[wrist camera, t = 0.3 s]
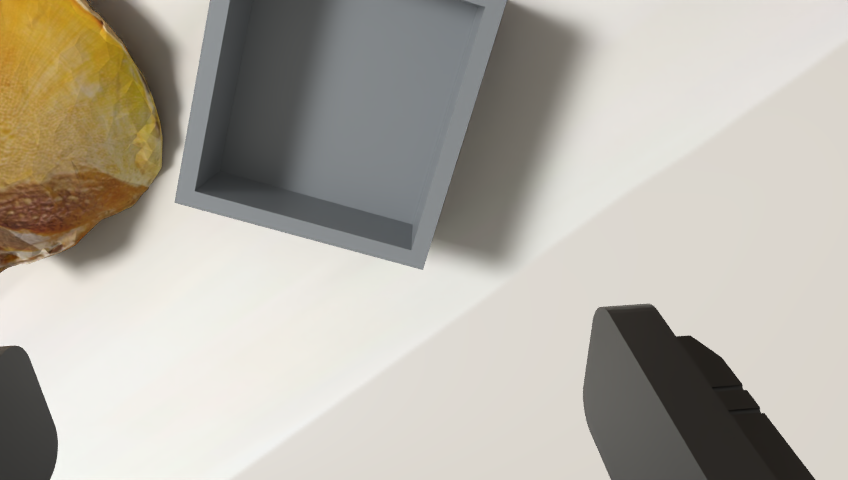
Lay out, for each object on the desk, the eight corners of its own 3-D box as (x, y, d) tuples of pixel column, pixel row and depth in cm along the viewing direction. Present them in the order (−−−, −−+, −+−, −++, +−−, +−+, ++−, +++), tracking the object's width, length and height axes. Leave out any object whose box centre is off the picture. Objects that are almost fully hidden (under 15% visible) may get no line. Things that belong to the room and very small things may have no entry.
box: (256, -81, 32) (226, -96, 27) (497, -5, 33) (509, -7, 28) (207, 176, 36) (174, 202, 31) (423, 236, 37) (422, 269, 32)
